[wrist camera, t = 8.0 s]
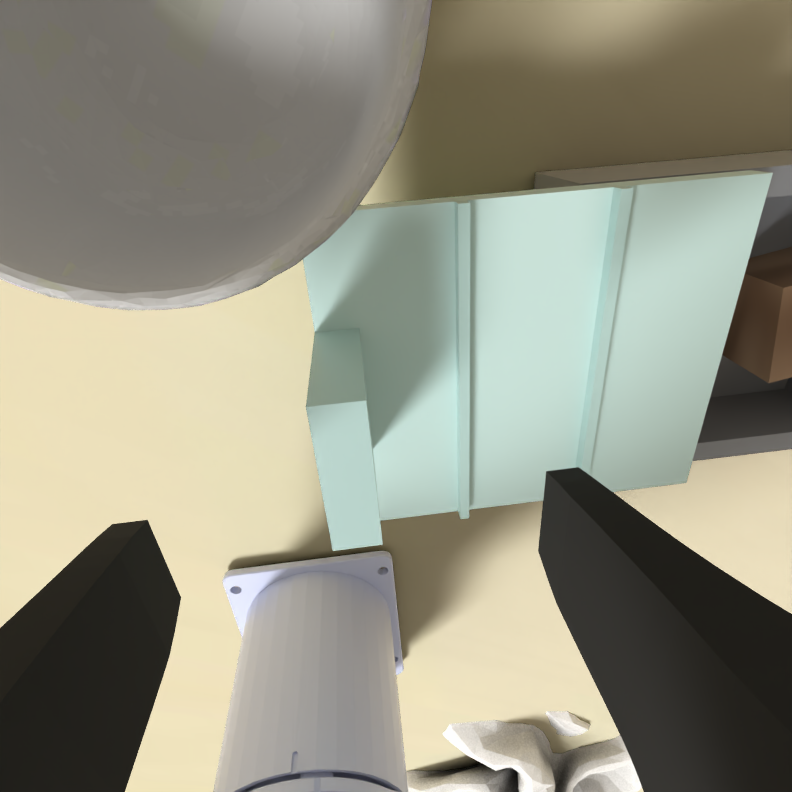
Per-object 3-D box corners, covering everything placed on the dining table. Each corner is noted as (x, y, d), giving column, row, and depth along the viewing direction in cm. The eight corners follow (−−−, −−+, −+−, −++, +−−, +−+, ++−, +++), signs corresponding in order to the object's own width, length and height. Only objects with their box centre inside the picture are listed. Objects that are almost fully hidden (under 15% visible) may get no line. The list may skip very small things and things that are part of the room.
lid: (750, 170, 13) (941, 191, 9) (672, 468, 18) (773, 573, 14) (298, 210, 12) (277, 254, 8) (345, 508, 17) (347, 630, 13)
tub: (878, 142, 17) (997, 146, 14) (785, 396, 22) (858, 440, 19) (535, 172, 16) (580, 183, 13) (518, 427, 21) (549, 478, 18)
